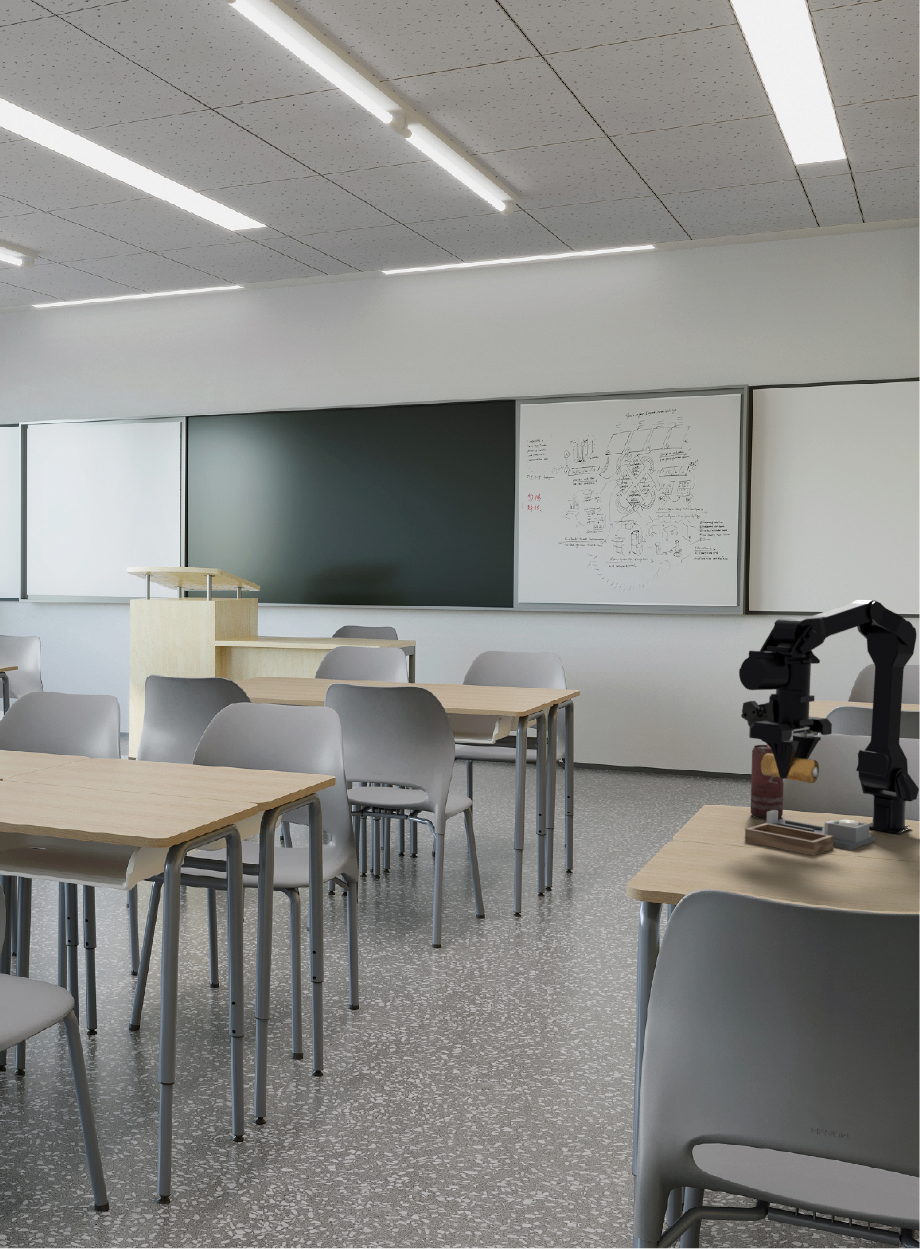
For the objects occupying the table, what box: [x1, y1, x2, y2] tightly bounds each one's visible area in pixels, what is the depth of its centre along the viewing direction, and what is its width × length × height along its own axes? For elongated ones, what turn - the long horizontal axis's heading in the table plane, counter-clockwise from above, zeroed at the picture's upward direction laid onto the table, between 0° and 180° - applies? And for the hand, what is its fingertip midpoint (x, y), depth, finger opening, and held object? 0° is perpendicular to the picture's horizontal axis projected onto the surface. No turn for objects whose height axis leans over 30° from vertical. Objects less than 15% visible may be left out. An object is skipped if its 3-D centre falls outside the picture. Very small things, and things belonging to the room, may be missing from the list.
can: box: [750, 744, 785, 820], centre depth 205 cm, size 6×6×14 cm
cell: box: [761, 753, 820, 784], centre depth 182 cm, size 4×10×4 cm, turn 43°
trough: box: [744, 822, 834, 856], centre depth 182 cm, size 7×13×2 cm, turn 44°
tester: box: [766, 810, 875, 851], centre depth 189 cm, size 9×18×4 cm, turn 44°
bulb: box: [838, 819, 859, 827], centre depth 184 cm, size 3×3×2 cm
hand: (789, 777), depth 182 cm, fingers closed on cell, 4 cm apart
